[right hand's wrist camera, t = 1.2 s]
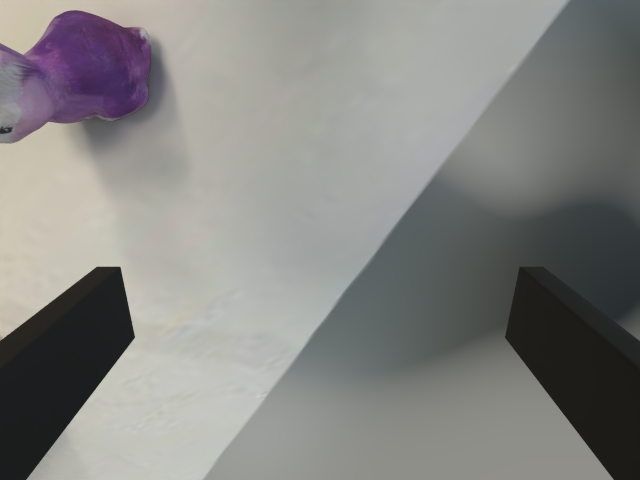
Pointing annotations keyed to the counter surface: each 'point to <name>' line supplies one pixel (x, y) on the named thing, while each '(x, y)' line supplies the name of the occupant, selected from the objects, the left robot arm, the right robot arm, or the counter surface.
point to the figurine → (74, 75)
